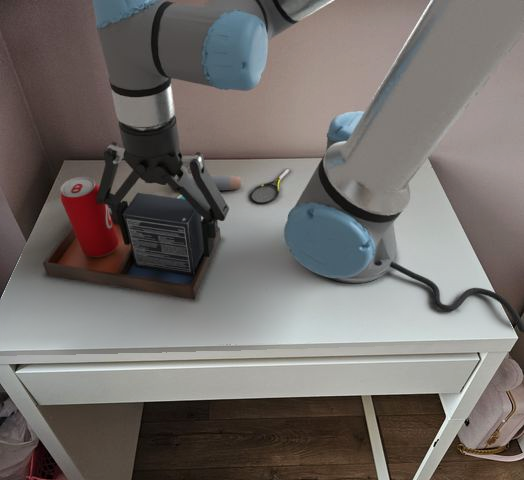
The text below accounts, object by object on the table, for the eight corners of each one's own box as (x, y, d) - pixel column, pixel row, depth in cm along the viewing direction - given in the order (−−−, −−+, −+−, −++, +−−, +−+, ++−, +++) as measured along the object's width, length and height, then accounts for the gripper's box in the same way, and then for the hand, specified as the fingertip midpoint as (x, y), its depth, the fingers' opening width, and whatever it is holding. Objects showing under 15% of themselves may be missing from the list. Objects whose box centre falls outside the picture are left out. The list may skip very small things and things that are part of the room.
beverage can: (124, 236, 90) (103, 174, 80) (114, 260, 86) (91, 197, 76) (89, 236, 90) (65, 174, 81) (78, 259, 86) (51, 197, 77)
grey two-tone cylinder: (183, 177, 101) (183, 192, 101) (181, 171, 98) (181, 187, 98) (240, 177, 101) (240, 193, 101) (240, 172, 98) (240, 188, 98)
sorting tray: (220, 239, 91) (220, 227, 89) (195, 300, 81) (193, 288, 79) (86, 219, 94) (83, 208, 92) (47, 275, 85) (42, 264, 83)
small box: (207, 252, 88) (202, 199, 80) (195, 277, 84) (188, 224, 76) (148, 242, 89) (137, 189, 81) (134, 267, 85) (120, 214, 77)
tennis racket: (244, 200, 98) (267, 208, 97) (244, 197, 98) (267, 205, 96) (277, 168, 105) (298, 175, 104) (277, 165, 105) (299, 171, 103)
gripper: (246, 113, 68) (249, 241, 85) (71, 94, 72) (106, 221, 88) (231, 142, 64) (237, 272, 80) (45, 120, 67) (87, 249, 83)
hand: (169, 245), depth 84 cm, fingers open, 13 cm apart
